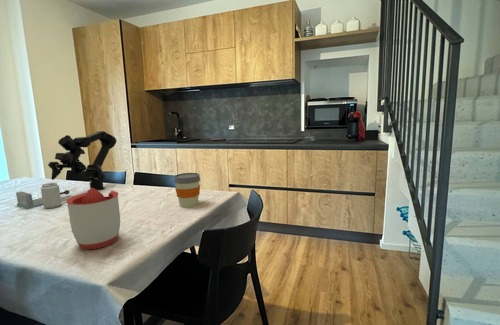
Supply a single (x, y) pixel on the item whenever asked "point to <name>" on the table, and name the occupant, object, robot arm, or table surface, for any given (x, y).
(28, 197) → the vise
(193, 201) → the reusable coffee cup
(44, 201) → the can
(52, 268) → the table surface
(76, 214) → the citrus juicer
